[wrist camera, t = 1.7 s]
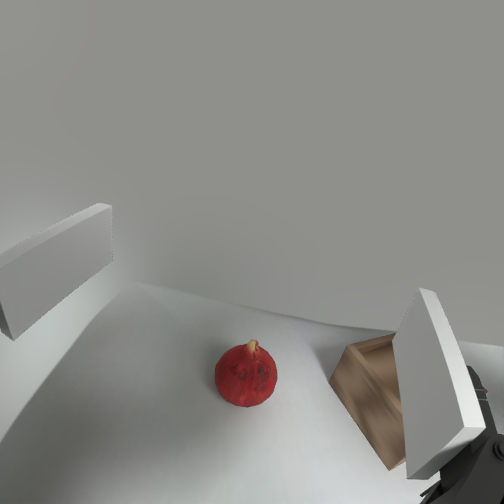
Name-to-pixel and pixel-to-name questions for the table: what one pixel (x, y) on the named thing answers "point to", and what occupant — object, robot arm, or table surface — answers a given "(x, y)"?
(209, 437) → the table surface
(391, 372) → the walnut tray
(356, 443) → the table surface
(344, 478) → the table surface
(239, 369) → the onion
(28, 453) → the table surface
